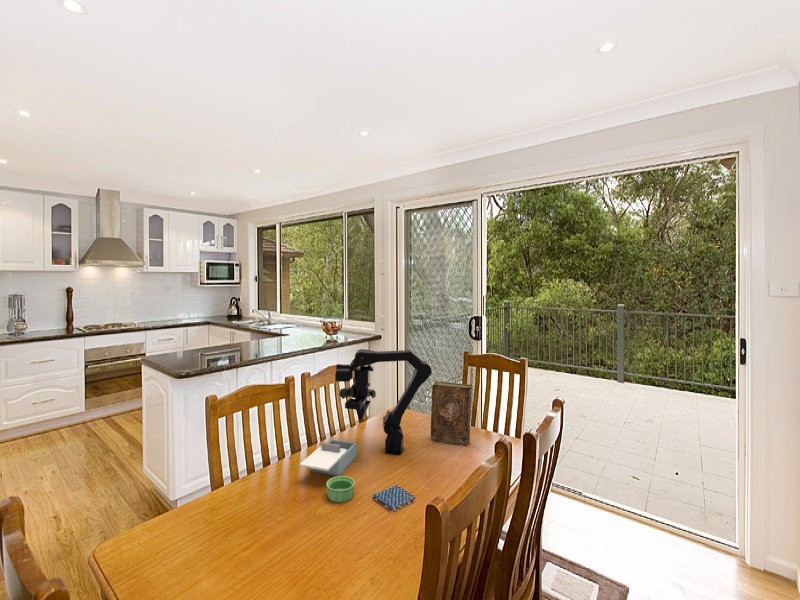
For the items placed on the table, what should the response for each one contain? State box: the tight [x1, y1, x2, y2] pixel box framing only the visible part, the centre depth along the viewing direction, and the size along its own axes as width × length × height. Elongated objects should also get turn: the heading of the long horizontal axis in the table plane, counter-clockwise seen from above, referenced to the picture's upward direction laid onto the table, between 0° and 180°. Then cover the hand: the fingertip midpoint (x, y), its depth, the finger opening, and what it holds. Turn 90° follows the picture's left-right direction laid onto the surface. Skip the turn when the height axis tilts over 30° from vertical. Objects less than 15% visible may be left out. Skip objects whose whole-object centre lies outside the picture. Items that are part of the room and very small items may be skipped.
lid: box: [299, 442, 347, 471], centre depth 142 cm, size 16×11×3 cm
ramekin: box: [326, 475, 355, 503], centre depth 129 cm, size 9×9×4 cm
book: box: [430, 381, 472, 447], centre depth 173 cm, size 16×6×25 cm, turn 73°
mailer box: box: [310, 438, 358, 477], centre depth 150 cm, size 16×11×6 cm
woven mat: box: [371, 484, 416, 514], centre depth 127 cm, size 10×11×2 cm
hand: (360, 419), depth 161 cm, fingers closed
